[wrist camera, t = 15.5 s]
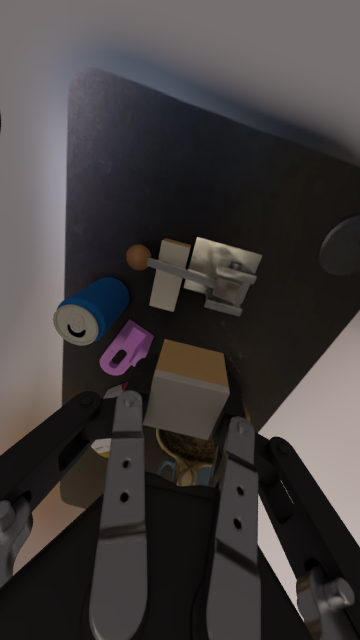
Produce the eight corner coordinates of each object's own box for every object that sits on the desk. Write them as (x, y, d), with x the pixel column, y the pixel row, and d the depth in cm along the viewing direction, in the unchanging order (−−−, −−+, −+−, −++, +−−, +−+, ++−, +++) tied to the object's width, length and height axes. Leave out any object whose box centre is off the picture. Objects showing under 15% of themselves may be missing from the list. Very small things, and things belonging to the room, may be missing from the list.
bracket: (129, 319, 37) (115, 338, 31) (154, 335, 39) (145, 358, 32) (98, 361, 43) (80, 385, 36) (120, 375, 44) (107, 400, 38)
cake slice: (155, 382, 15) (142, 425, 12) (164, 338, 13) (153, 375, 10) (206, 395, 15) (207, 440, 12) (223, 353, 13) (230, 394, 10)
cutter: (183, 285, 34) (177, 312, 24) (197, 235, 30) (196, 243, 20) (240, 301, 34) (257, 333, 24) (260, 253, 30) (289, 269, 21)
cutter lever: (132, 264, 29) (119, 267, 26) (136, 241, 27) (122, 241, 24) (234, 299, 26) (232, 307, 23) (244, 276, 25) (243, 281, 22)
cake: (153, 297, 35) (149, 305, 32) (165, 238, 31) (162, 240, 28) (175, 303, 35) (173, 311, 32) (191, 245, 31) (190, 248, 28)
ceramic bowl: (215, 433, 50) (221, 511, 36) (150, 411, 48) (131, 485, 35) (265, 368, 40) (298, 444, 27) (185, 338, 38) (179, 402, 25)
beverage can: (92, 303, 37) (48, 338, 26) (98, 270, 34) (51, 293, 23) (126, 315, 37) (96, 354, 26) (134, 284, 34) (105, 313, 24)
